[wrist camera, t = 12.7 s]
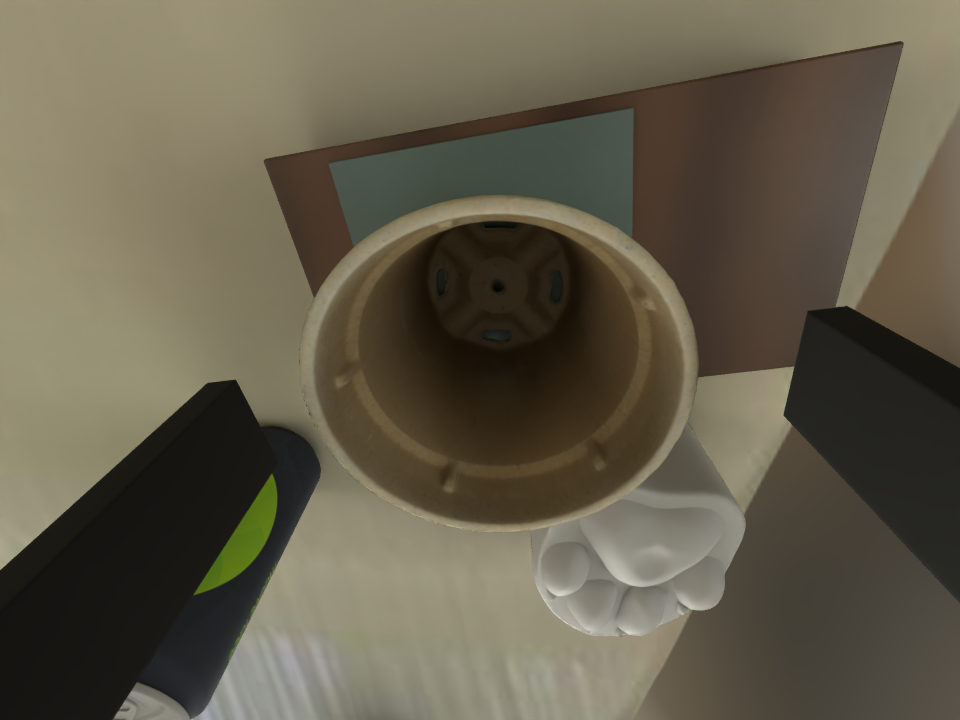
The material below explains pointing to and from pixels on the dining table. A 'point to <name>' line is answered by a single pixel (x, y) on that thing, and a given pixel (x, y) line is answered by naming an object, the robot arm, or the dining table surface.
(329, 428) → the flower pot
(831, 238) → the teal-inset wooden board
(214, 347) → the dining table surface
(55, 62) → the dining table surface
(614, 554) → the lumpy-topped squat cylinder
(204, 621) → the beverage can
